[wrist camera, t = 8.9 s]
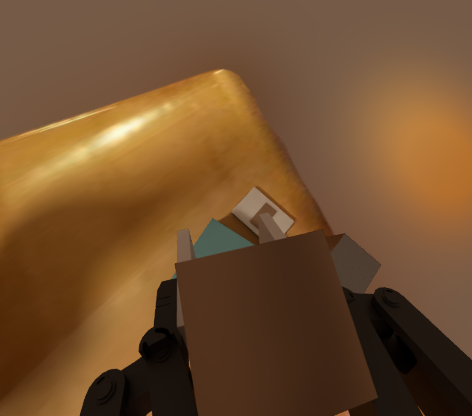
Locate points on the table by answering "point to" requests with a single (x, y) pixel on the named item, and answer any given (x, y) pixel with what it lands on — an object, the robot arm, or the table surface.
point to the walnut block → (272, 332)
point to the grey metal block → (352, 263)
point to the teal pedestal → (217, 241)
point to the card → (260, 211)
